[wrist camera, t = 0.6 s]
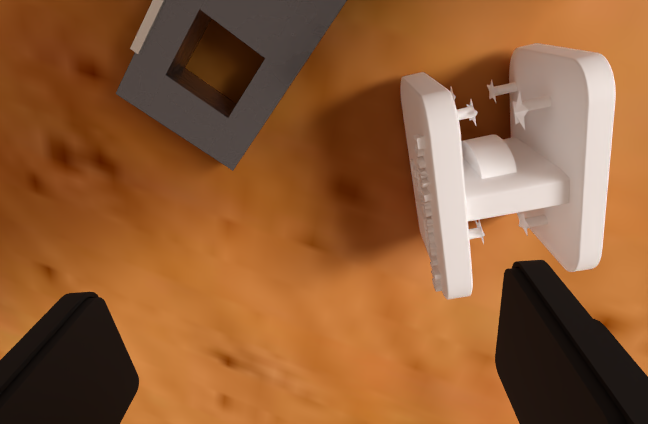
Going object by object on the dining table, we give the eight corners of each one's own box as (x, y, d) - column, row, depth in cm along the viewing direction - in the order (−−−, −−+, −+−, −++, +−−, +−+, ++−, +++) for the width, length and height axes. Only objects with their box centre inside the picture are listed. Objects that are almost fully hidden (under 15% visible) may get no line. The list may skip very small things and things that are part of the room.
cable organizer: (528, 212, 37) (602, 290, 27) (414, 232, 38) (441, 314, 28) (527, 40, 30) (624, 54, 20) (389, 72, 32) (414, 101, 21)
